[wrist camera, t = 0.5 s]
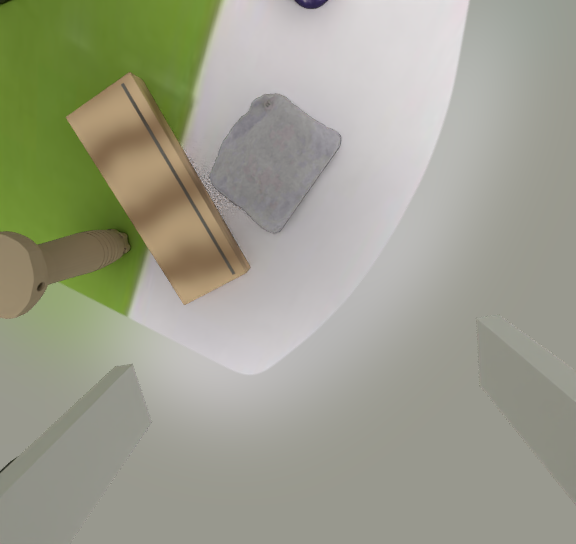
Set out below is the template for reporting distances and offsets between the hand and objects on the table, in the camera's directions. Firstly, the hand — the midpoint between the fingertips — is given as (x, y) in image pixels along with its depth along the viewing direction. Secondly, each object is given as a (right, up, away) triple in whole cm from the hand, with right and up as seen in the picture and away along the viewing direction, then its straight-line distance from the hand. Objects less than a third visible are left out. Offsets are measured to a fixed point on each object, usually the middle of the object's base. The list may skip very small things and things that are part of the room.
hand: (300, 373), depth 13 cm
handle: (-20, +7, +26) cm, 34 cm away
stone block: (-2, +15, +23) cm, 28 cm away
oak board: (-13, +12, +24) cm, 30 cm away
